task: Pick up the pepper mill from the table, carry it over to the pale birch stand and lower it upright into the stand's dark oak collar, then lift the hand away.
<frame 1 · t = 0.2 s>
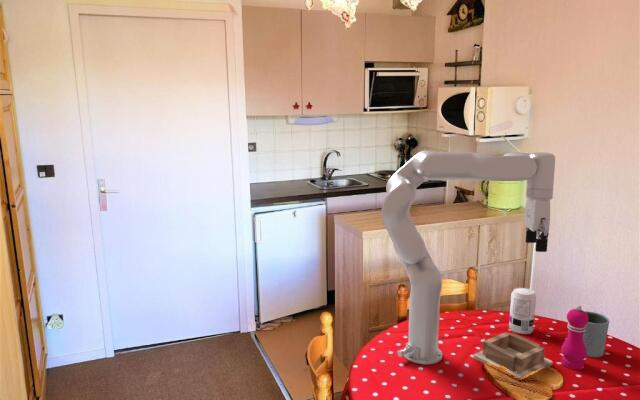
hand: (535, 246, 155), 37 cm above the table, tool pointing down, fingers open, 9 cm apart
pepper mill: (572, 365, 157), on the table
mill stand: (512, 361, 159), on the table
supplement can: (520, 330, 181), on the table
grey cylindrical pot: (588, 351, 166), on the table
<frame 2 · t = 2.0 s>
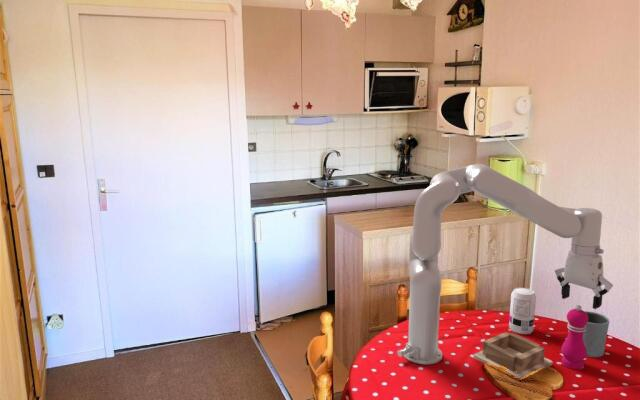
hand: (580, 302, 153), 21 cm above the table, tool pointing down, fingers open, 9 cm apart
nothing on the table moved.
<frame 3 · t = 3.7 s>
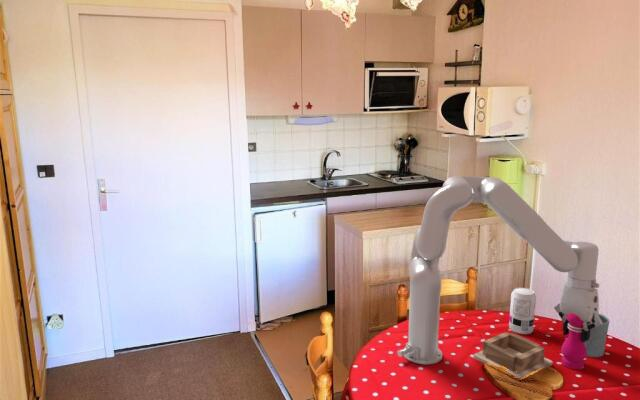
hand: (575, 336, 155), 9 cm above the table, tool pointing down, fingers closed on pepper mill, 5 cm apart
pepper mill: (572, 365, 157), on the table, touching gripper
everything else where it was.
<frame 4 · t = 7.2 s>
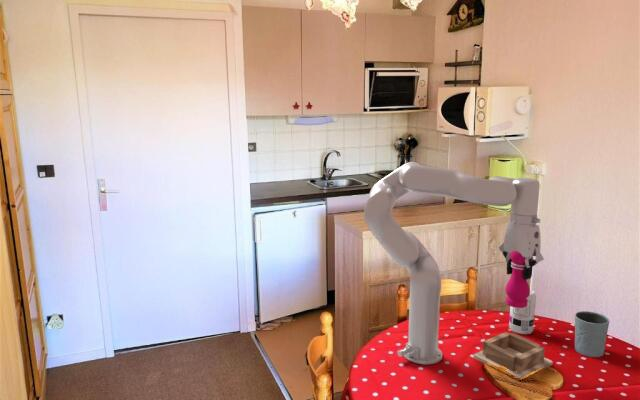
hand: (518, 275, 154), 29 cm above the table, tool pointing down, fingers closed on pepper mill, 5 cm apart
pepper mill: (516, 304, 156), point 19 cm above the table, touching gripper
everything else where it was.
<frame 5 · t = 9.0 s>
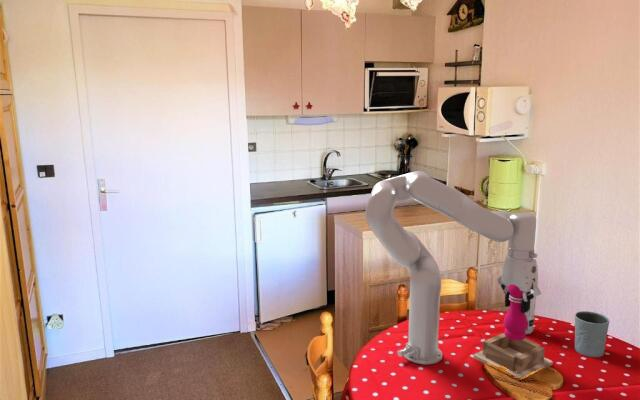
hand: (516, 308, 156), 18 cm above the table, tool pointing down, fingers closed on pepper mill, 5 cm apart
pepper mill: (514, 336, 158), point 9 cm above the table, touching gripper
everything else where it was.
when the fingers open (12 cm above the table, at t = 10.6 s): pepper mill drops 2 cm, resting on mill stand.
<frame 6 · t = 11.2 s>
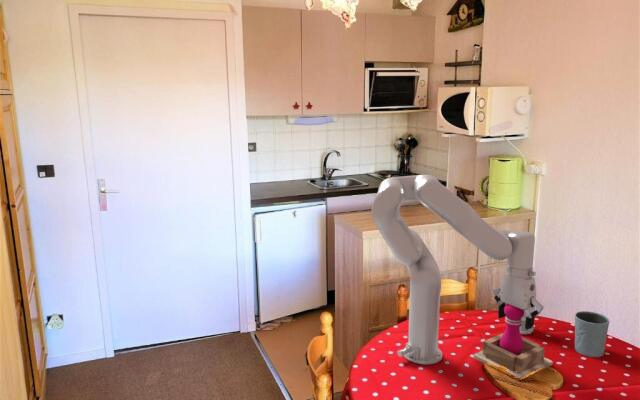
hand: (515, 322, 157), 13 cm above the table, tool pointing down, fingers open, 9 cm apart
pepper mill: (510, 357, 160), point 1 cm above the table, touching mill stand
everything else where it was.
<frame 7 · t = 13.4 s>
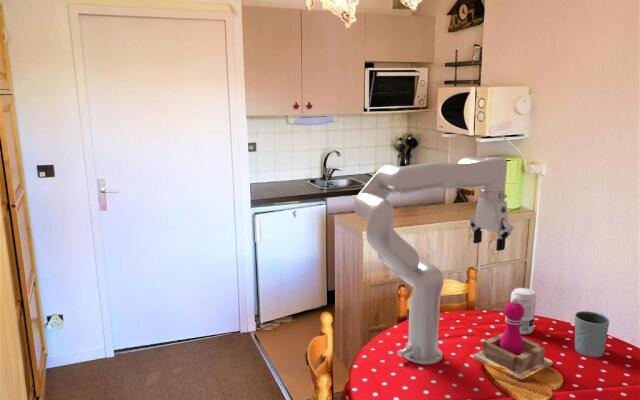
hand: (488, 246, 164), 35 cm above the table, tool pointing down, fingers open, 9 cm apart
nothing on the table moved.
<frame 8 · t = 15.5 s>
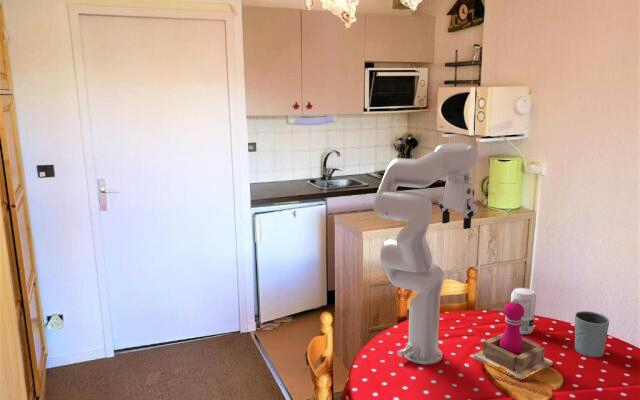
hand: (456, 225, 178), 38 cm above the table, tool pointing down, fingers open, 9 cm apart
nothing on the table moved.
at the end: pepper mill 0.7 cm off-centre on the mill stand, point 1.0 cm above the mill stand's base; pepper mill tilted 0°; the gripper is holding nothing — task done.
